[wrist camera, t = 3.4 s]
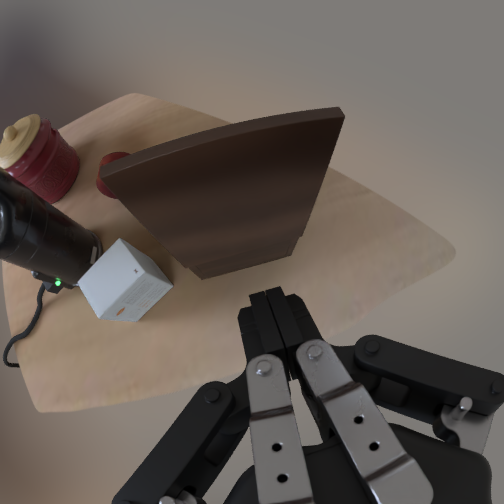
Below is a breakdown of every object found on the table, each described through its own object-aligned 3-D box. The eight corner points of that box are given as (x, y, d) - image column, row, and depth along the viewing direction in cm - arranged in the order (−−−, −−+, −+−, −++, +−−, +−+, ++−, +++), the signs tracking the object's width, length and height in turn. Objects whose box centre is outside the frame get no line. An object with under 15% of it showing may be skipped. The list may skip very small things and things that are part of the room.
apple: (114, 171, 43) (93, 146, 35) (153, 164, 43) (136, 136, 35) (106, 208, 41) (82, 186, 33) (147, 203, 41) (127, 178, 33)
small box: (152, 258, 39) (120, 235, 28) (175, 286, 37) (147, 271, 27) (115, 294, 37) (75, 281, 27) (136, 323, 36) (98, 319, 26)
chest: (180, 178, 42) (164, 145, 34) (257, 158, 43) (257, 121, 34) (201, 280, 38) (185, 265, 29) (291, 255, 38) (300, 234, 30)
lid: (99, 166, 12) (99, 178, 12) (339, 106, 13) (345, 116, 12) (184, 261, 29) (185, 268, 29) (299, 229, 29) (302, 236, 29)
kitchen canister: (38, 218, 41) (-21, 179, 24) (34, 173, 44) (-13, 132, 27) (86, 182, 43) (32, 126, 26) (77, 140, 46) (35, 87, 29)
